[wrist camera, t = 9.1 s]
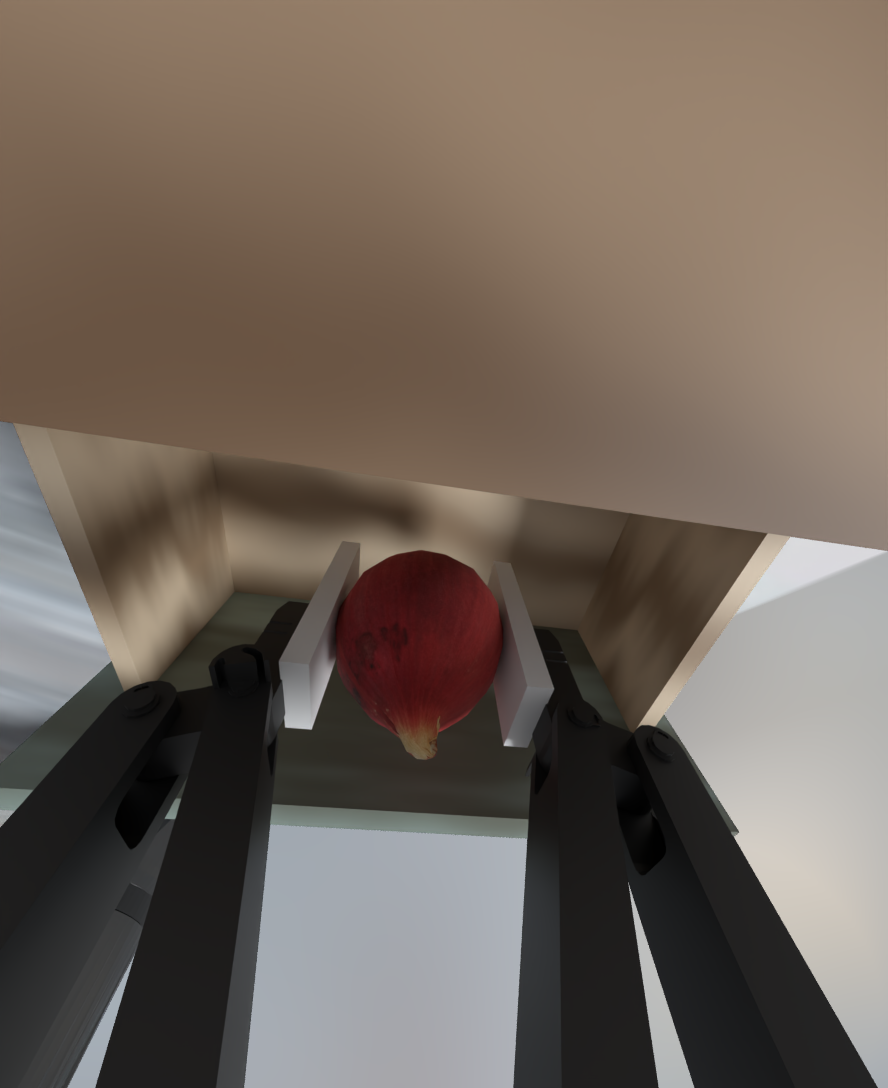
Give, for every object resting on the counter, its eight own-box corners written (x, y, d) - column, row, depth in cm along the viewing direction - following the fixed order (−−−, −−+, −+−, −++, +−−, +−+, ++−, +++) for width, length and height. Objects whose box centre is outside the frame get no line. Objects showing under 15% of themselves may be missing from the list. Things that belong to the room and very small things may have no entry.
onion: (359, 618, 17) (299, 807, 10) (361, 509, 14) (278, 661, 7) (477, 629, 17) (502, 819, 10) (501, 525, 14) (557, 684, 7)
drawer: (588, 651, 25) (699, 866, 14) (213, 611, 23) (17, 832, 12) (693, 433, 18) (1073, 543, 7) (159, 342, 15) (-451, 304, 5)
